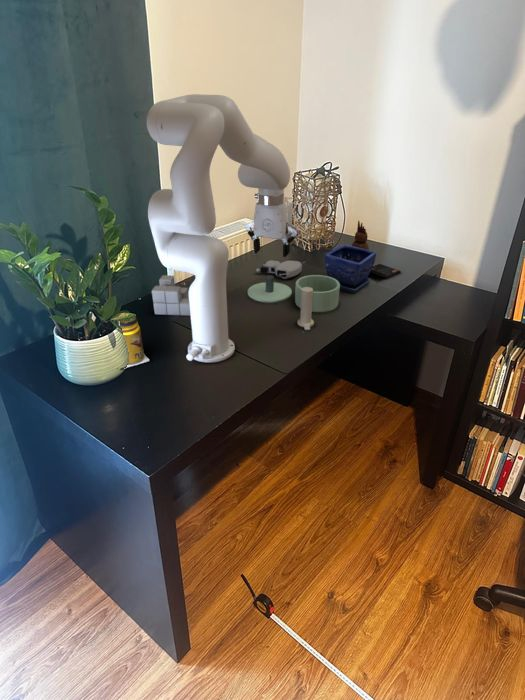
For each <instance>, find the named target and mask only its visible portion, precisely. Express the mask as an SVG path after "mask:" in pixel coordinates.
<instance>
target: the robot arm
mask: <svg viewBox="0 0 525 700" xmlns="http://www.w3.org/2000/svg"><path fill="white" fill-rule="evenodd" d="M146 128H147V132H148V134H149V136H150V138H152V140H153V141H155V142H156V143H157V144H160V145H164V146H174V147H181V148H180V150H179V151H178V153H177V155H176V156H175V158H174V160H173V162H172V164H171V167H170V171H169V180H170V184H171V185H170V186H171V188H161V189H159V190H156V191H155V192H154V193H152V195H151V197H150V199H149V201H148V207H147V220H148V223H149V228H150V231H151V235H152V240H153V243H154V246H155V250H156V253H157V257H158V260H159V261H160V263H161V264H162V266H164V267H165V268H167V269H168V270H172V271H176V272H183V273H188V274H190V275H194V277H195V278H194V280H193V281H192V282H191V284H190V286H189V287H188V297H189V304H190V315H191V316H190V324H191V337H192V341H191V342H190V343H189V344H188V346H187V354H186V360H187V361H189V362H192V361H193V360H194V361H197V362H201V363H208V364H209V363H218V362H222V361H225V360H227V359H229V358H230V357H232V355H233V354H234V353H235V352H236V351H235V350H236V347H235V342H234V341H233V340H232V339H230V338H229V320H228V299H227V298H228V297H227V273H228V267H229V266H228V265H229V258H230V252H229V248H228V246H227V243H225V242H224V241H223V240H221V239H220V238H217V237H215V236H210V235H209V234H211V233H213V231H214V230H215V228H216V224H217V215H216V208H215V202H214V201H215V200H214V196H213V190H212V184H211V173H210V171H211V164H212V161H213V158H214V157H215V156H214V155H215V153H216V151H217V149H218V146H219V147H220V149H221V150H222V151H223V152H224V154H225V156H227V158H229V160H231V161H233V162H236V163H238V164H240V165H239V167H238V170H237V178H238V181H239V183H240V184H241V185H242V186H244V187H247V188H252V189H258V190H257V193H254V195H253V196H254V197H253V198H254V199H256V200H257V202H256V203H255V207H254V215H253V221H251V222H248V223H246V224H245V225H244V228H245V230H246V233H247V235H248V236H249V237H250V239H251V241H252V248H253V251H254V254H258V253H259V252H260V251H261V239H260V238H264V239H272V240H281V241H282V242H283V245H282V257H283V258H286V257H288V255H290V252H291V243H292V242H293V241H294V240H295V239H296V237H297V236H298V234H299V232H300V231H299V230H298V229H297V228H295V227H294V226H292V225H291V224H289V216H288V209H287V203H285V189H286V188H287V187H288V185H289V183H290V180H291V170H290V165H289V163H288V161H287V159H286V157H285V155H284V154H283V152H282V151H281V150H280V149H279V148H277V146H276V145H274V144H272V143H271V142H270V141H267V140H266V139H264V138H263V137H261V136H260V135H257V134H256V133H254V132H253V130H252V129H251V127H250V125H249V123H248V122H247V120H246V118H245V117H244V114H243V113H242V112H241V109H240V108H239V107H238V105H237V103H236V102H235V100H234V99H232V98H231V97H229V96H226V95H223V94H222V95H220V94H198V93H197V94H196V93H194V94H186V95H181V96H177V97H173V98H169V99H164V100H160V101H157V102H155V103H154V104H153V105H152V106H151V107H150V109H149V110H148V113H147V114H146ZM289 232H290V233H291V236H290V235H288V234H289Z"/></svg>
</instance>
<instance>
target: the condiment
mask: <svg viewBox="0 0 525 700" xmlns="http://www.w3.org/2000/svg"><path fill="white" fill-rule="evenodd" d="M134 316H135V317H134V318H133V319H130V320H125V321H120V326H121V328H122V332H123V335H124V338H125V341H126V345H127V348H128V352H129V362H128V365H127V367H126V368H125V369H127V368H130V367H134V366H138V365H141V364H144V363H147V362H150V359H149V358H148V357H147V356H146V354H145V353H144V345H143V339H142V333H141V332H142V331H141V326H140V325H139V322H138V317H137V316H136V315H134Z"/></svg>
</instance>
